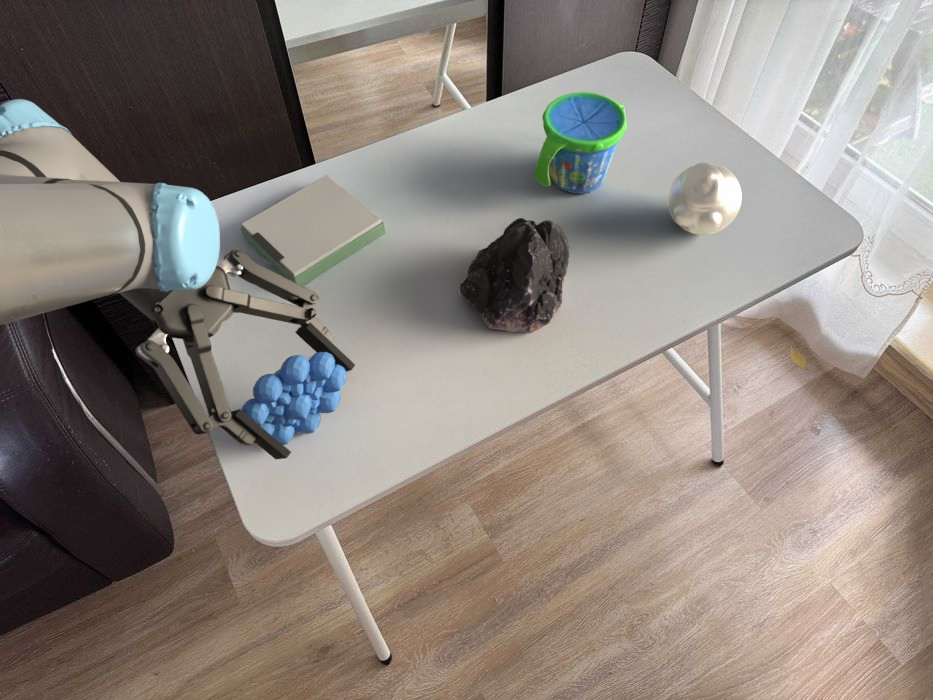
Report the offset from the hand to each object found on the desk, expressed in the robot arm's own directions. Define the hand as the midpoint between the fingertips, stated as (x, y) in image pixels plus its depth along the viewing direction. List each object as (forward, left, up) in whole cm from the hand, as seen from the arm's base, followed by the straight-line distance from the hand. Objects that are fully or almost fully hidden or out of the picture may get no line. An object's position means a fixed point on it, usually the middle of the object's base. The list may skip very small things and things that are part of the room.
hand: (316, 410), depth 73 cm
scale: (+17, +25, -5) cm, 31 cm away
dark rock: (+29, 0, -5) cm, 29 cm away
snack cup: (+50, +9, -5) cm, 51 cm away
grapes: (-1, +3, -5) cm, 6 cm away
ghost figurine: (+54, -8, -5) cm, 54 cm away
